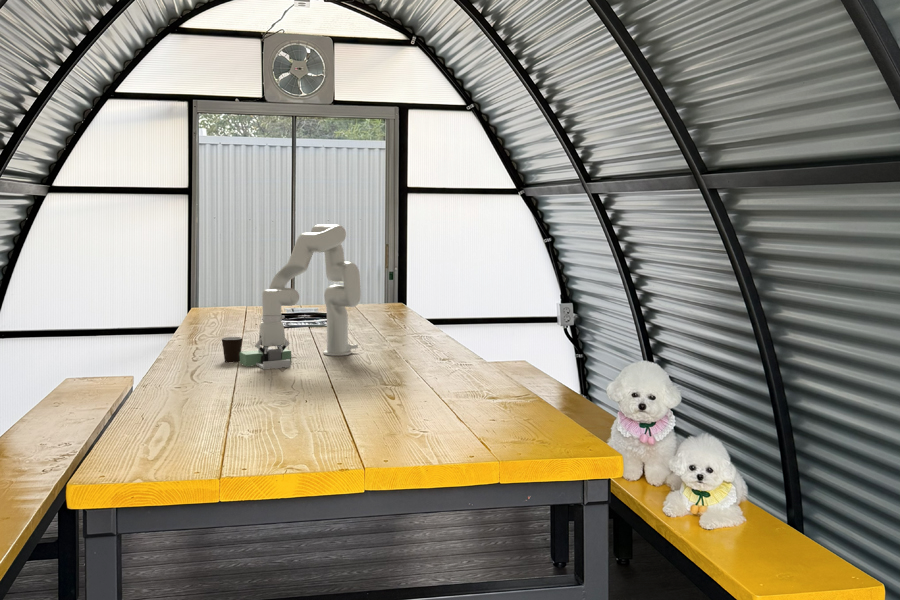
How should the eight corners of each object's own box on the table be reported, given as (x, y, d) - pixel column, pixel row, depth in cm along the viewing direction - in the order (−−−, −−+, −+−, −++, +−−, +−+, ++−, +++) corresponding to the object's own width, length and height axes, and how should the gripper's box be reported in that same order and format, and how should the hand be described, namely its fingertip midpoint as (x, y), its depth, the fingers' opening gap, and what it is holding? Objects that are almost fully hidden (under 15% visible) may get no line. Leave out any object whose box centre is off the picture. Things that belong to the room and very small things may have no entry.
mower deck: (284, 359, 353) (284, 345, 352) (300, 366, 338) (300, 351, 337) (239, 363, 342) (239, 349, 342) (253, 370, 327) (253, 355, 326)
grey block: (275, 362, 342) (275, 347, 341) (281, 365, 336) (281, 349, 335) (264, 363, 339) (263, 347, 338) (269, 366, 333) (269, 350, 332)
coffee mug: (237, 363, 343) (236, 340, 342) (218, 362, 344) (218, 339, 343) (249, 358, 354) (248, 336, 353) (231, 357, 356) (230, 335, 355)
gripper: (288, 316, 343) (288, 359, 345) (249, 319, 334) (249, 362, 336) (294, 318, 336) (295, 361, 338) (255, 321, 327) (255, 365, 329)
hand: (272, 361), depth 337 cm, fingers closed on grey block, 4 cm apart
